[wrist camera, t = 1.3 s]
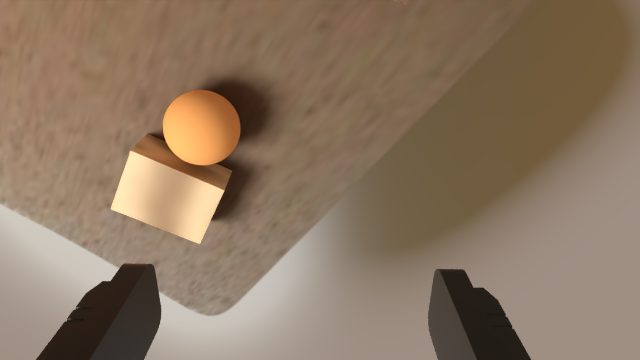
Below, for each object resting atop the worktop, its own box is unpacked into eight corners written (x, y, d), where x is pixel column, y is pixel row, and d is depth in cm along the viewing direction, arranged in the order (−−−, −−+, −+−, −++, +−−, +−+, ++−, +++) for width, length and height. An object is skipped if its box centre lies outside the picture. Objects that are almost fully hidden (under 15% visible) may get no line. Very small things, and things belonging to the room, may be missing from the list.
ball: (164, 128, 38) (140, 155, 33) (191, 68, 36) (170, 86, 31) (227, 160, 40) (214, 190, 34) (257, 104, 37) (247, 127, 32)
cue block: (128, 187, 41) (110, 209, 37) (147, 133, 39) (130, 150, 35) (209, 220, 43) (199, 243, 39) (232, 170, 40) (224, 190, 37)
